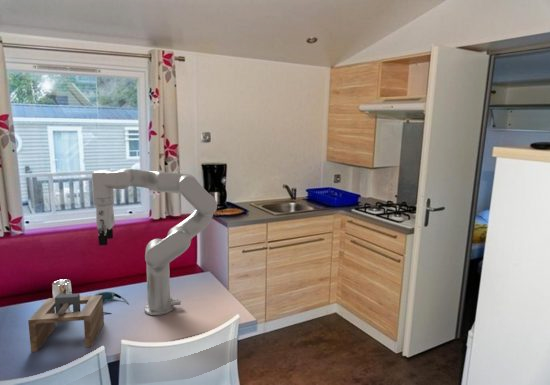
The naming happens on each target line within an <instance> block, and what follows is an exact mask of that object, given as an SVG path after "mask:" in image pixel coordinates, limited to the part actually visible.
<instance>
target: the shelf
mask: <svg viewBox="0 0 550 385" xmlns="http://www.w3.org/2000/svg"><path fill="white" fill-rule="evenodd" d="M94 295H95V294H94ZM94 295H85V296H84V295H83V296H82V295H80V305H84V306H83V307H82V309H81V310H80V312H73V311H72V312H67V313H65V312H66V310H67V309H68V308H69V306H70V307H71V306H73V303H65V304H63V306H62V308H61V309H60V310H59V311H58V313H56V309H55V298H53V297H52V298H50V297H49V298H47V299H46V300H45V301H44V302H43V303H42V304H41V306H40V307H39V308H38V309H37V310H36V311H35V312H34V313H33V314H32V315H31V316H30V318H29V319H28V321H27V322H28V323H27V324H28V332H29V334H28V335H29V342H30V344H29V345H30V352H31V353H34V352H38V351H39V350H40V348H42V346H43V345H44V343H45V342H46V340H47V339H48V338H49V337H50V335H51V334H52V333H53V331H54V330H55V328H56V327H57V323H63V322H76V321H77V322H78V321H79V322H80V321H83V327H84V341H85V342H84V343H85V348H91V347H93V345H94V343H95V341H96V339H97V337H98V335H99V333H100V331H101V329H102V328H103V325H104V323H105V319H104V318H105V317H104V315H105V314H104V313H103V311H104V302H103V299H102V295H95V296H94Z"/></svg>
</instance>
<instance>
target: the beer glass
mask: <svg viewBox="0 0 550 385" xmlns="http://www.w3.org/2000/svg"><path fill="white" fill-rule="evenodd" d="M51 290H52V298H55V297H56V296H57V295H58V294H73V292H72V283H71V280H70V279H67V278H66V279H59V280H55V281H53V282H52V289H51ZM67 312H73V310H72V307H71V305H70V306H69V308H68V309H67V310H66V312H65V313H67Z"/></svg>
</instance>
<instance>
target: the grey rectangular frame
mask: <svg viewBox="0 0 550 385" xmlns="http://www.w3.org/2000/svg"><path fill="white" fill-rule="evenodd" d="M80 296H81V295H80V293H72V294H58V295H57V296H56V297H55V313H58V311H59V310H60V309H61V308H62V306H63V304H65V303H73V305H72V312H81V304H80Z"/></svg>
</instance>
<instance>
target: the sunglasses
mask: <svg viewBox="0 0 550 385" xmlns="http://www.w3.org/2000/svg"><path fill="white" fill-rule="evenodd" d="M95 295H102V299H103V301H107V300H109V301H110V300H113V299H114V298H115V297H116V298H118V299H122V300H123V301H125V303H126V304H127V305H129V306H130V304H129V303H130V302H128V300H127V299H126V298H125V297H124V296H121V295H119V294H118V293H115V292H114V291H110V290H109V291H107V290H106V291H101V292H97V293H95V294H93V296H95ZM103 314H104V315H105V314H107V315H108V314H109V315H113V314H112V312H108V311H104V310H103Z"/></svg>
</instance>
